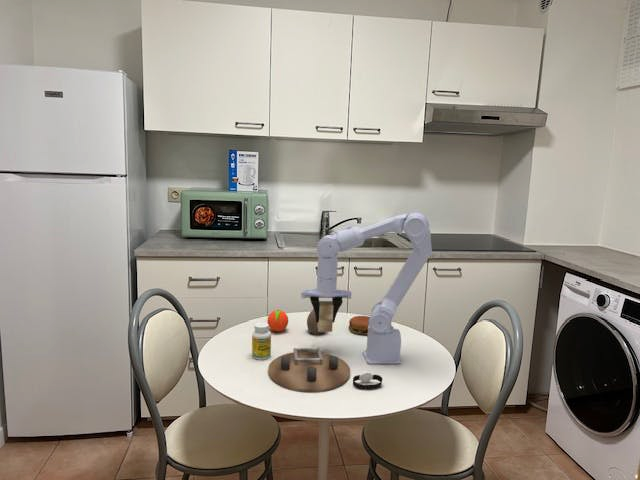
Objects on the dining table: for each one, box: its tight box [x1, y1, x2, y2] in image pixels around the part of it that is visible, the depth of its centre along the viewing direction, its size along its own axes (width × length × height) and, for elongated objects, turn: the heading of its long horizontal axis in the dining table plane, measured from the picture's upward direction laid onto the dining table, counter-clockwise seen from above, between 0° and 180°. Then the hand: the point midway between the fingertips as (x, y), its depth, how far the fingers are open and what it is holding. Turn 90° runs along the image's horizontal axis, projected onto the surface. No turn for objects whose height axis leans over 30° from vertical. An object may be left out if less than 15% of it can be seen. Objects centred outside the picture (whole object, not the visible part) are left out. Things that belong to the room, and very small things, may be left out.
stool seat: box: [267, 347, 351, 393], centre depth 126 cm, size 22×22×4 cm
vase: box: [306, 308, 325, 335], centre depth 153 cm, size 7×7×9 cm
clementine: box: [266, 309, 289, 332], centre depth 153 cm, size 8×7×7 cm
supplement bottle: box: [251, 321, 272, 361], centre depth 133 cm, size 5×5×10 cm
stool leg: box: [317, 300, 334, 333], centre depth 137 cm, size 4×4×8 cm
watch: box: [352, 371, 383, 391], centre depth 119 cm, size 8×5×4 cm, turn 99°
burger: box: [348, 315, 370, 336], centre depth 156 cm, size 10×9×5 cm
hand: (325, 321), depth 138 cm, fingers closed on stool leg, 4 cm apart
